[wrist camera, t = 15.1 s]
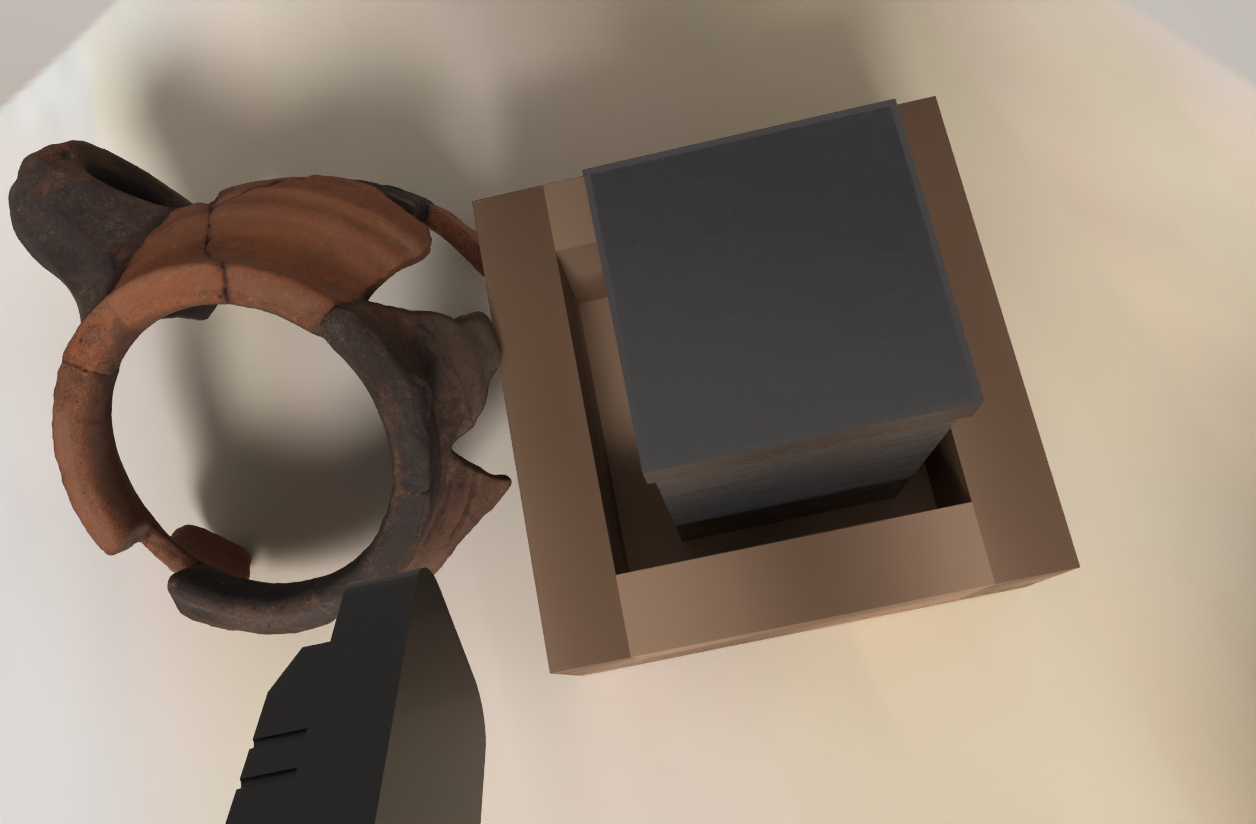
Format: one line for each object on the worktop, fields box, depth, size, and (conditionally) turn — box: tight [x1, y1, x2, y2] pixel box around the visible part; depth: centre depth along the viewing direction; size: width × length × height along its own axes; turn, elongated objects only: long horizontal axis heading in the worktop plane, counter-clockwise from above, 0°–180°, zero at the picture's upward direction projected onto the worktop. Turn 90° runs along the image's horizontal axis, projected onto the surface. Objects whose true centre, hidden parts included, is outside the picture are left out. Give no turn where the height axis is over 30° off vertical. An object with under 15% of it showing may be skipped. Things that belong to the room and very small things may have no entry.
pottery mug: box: [8, 140, 511, 634], centre depth 23 cm, size 12×10×8 cm
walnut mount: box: [472, 96, 1080, 676], centre depth 22 cm, size 10×10×4 cm
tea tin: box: [582, 99, 985, 542], centre depth 19 cm, size 5×5×8 cm
